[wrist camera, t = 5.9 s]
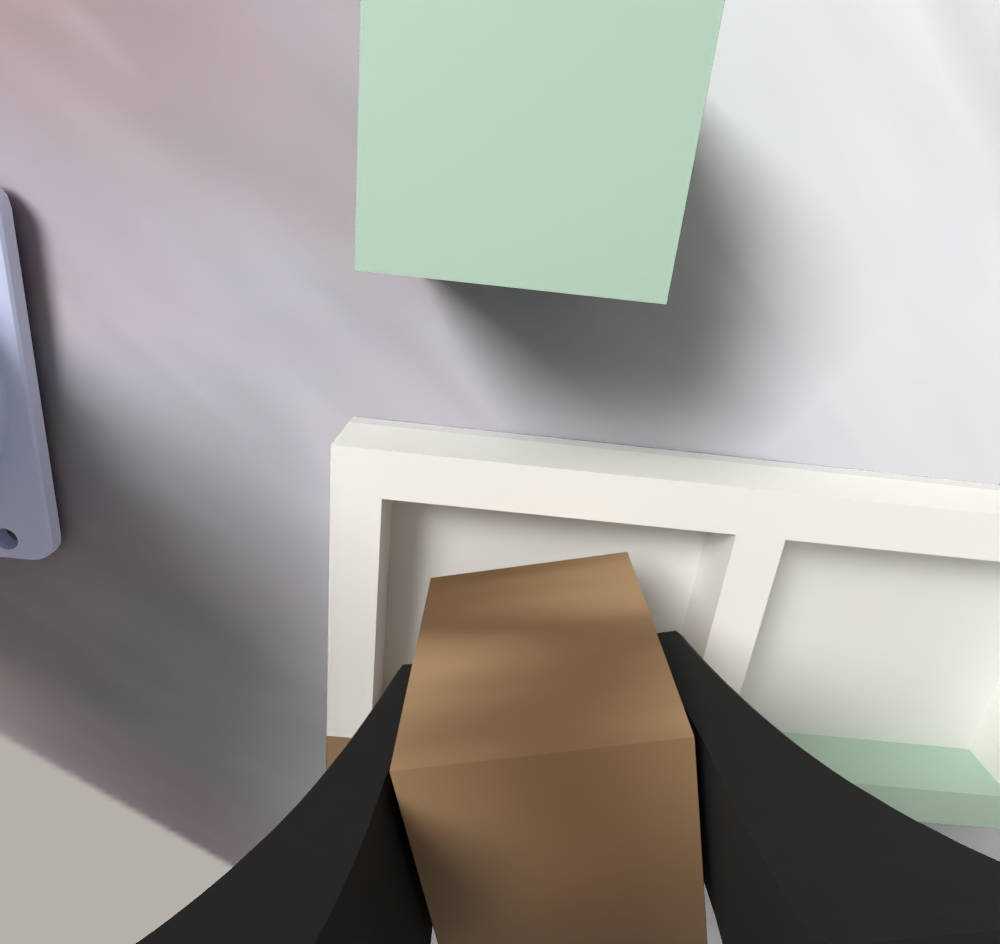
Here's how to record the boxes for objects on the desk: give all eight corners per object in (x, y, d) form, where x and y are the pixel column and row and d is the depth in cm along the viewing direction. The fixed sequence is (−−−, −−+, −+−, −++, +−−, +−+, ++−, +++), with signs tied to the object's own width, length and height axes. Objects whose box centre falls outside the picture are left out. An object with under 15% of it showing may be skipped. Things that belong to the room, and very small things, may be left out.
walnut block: (464, 731, 15) (445, 968, 10) (430, 577, 13) (389, 770, 9) (642, 710, 14) (707, 944, 10) (627, 551, 13) (695, 737, 8)
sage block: (409, 251, 13) (354, 270, 8) (422, 12, 11) (362, -128, 7) (609, 273, 13) (665, 304, 8) (646, 40, 12) (741, -80, 7)
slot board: (345, 711, 17) (326, 769, 15) (352, 416, 14) (331, 444, 12) (981, 769, 17) (1035, 832, 16) (1114, 496, 15) (1198, 535, 13)
